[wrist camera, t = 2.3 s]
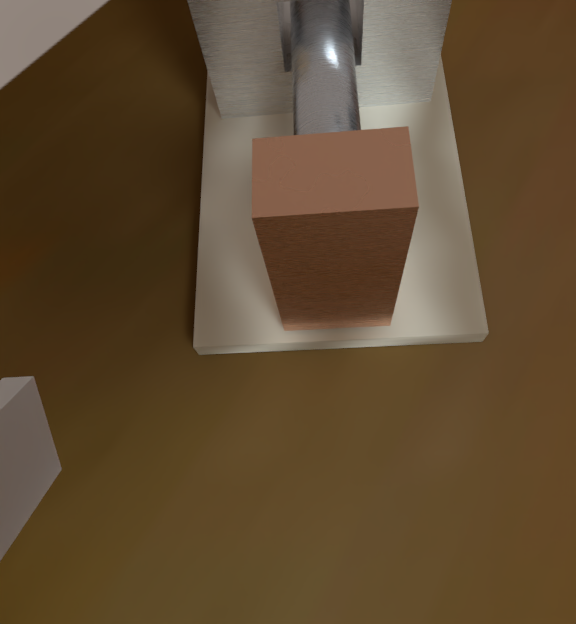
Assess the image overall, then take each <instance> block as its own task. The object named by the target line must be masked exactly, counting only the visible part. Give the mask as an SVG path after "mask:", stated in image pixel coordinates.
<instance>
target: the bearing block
mask: <svg viewBox="0 0 576 624" xmlns="http://www.w3.org/2000/svg"><path fill="white" fill-rule="evenodd" d="M290 1H296V0H187V2H188V5H189V9H190V12H191V15H192V19H193V22H194V26H195V29H196V32H197V36H198V39H199V43H200V46H201V50H202V53H203V56H204V60H205V63H206V67H207V70H208V73H209V77H210V80H211V84H212V87H213V90H214V94H215V97H216V101H217V104H218V108H219V111H220V114H221V118H222V119H225V118H237V117H250V116H262V115H274V114H286V113H293V96H292V60H291V24H290ZM451 1H452V0H350V11H351V22H352V33H353V44H354V56H355V67H356V78H357V90H358V101H359V107H371V106H383V105H395V104H407V103H419V102H431V97H432V92H433V88H434V83H435V78H436V73H437V68H438V64H439V59H440V54H441V49H442V44H443V40H444V35H445V30H446V25H447V21H448V16H449V11H450V6H451Z"/></svg>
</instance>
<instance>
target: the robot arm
mask: <svg viewBox="0 0 576 624" xmlns="http://www.w3.org/2000/svg"><path fill="white" fill-rule="evenodd" d="M61 470H62V468H61V465H60V462H59V458H58V455H57V452H56V448H55V445H54V442H53V439H52V435H51V432H50V429H49V425H48V422H47V419H46V415H45V412H44V409H43V405H42V402H41V399H40V396H39V392H38V389H37V386H36V382H35V379H34V376H28V377H9V378H2V379H1V380H0V561H1V559H2V558H3V556H4V555H5V553H6V552H7V550H8V549H9V547H10V546H11V544H12V543H13V541H14V540H15V538H16V537H17V535H18V534H19V532H20V531H21V529H22V528H23V526H24V525H25V523H26V522H27V520H28V519H29V517H30V516H31V514H32V513H33V511H34V510H35V508H36V507H37V505H38V504H39V503H40V501H41V500H42V498H43V497H44V495H45V494H46V492H47V491H48V489H49V488H50V486H51V485H52V483H53V482H54V480H55V479H56V477H57V476H58V474H59V473H60V471H61Z"/></svg>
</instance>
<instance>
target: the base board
mask: <svg viewBox="0 0 576 624" xmlns="http://www.w3.org/2000/svg"><path fill="white" fill-rule="evenodd" d="M359 112H360V123H361V130H367V129H380V128H393V127H405V126H408V127H409V134H410V142H411V150H412V157H413V165H414V172H415V180H416V188H417V195H418V203H419V209H418V213H417V217H416V221H415V225H414V230H413V234H412V238H411V242H410V246H409V250H408V254H407V259H406V263H405V267H404V271H403V275H402V279H401V283H400V288H399V292H398V296H397V300H396V304H395V308H394V313H393V317H392V321H391V325H390V326H374V327H353V328H333V329H313V330H293V331H284V328H283V324H282V321H281V317H280V314H279V310H278V307H277V304H276V300H275V297H274V293H273V290H272V286H271V283H270V279H269V276H268V273H267V269H266V266H265V262H264V259H263V255H262V252H261V249H260V245H259V242H258V238H257V235H256V231H255V228H254V224H253V221H252V139H253V138H266V137H279V136H291V135H294V132H293V113H286V114H274V115H262V116H250V117H237V118H225V119H222V118H221V114H220V111H219V108H218V104H217V101H216V97H215V94H214V90H213V87H212V84H211V80H210V77H209V73H208V72H207V91H206V110H205V129H204V148H203V168H202V187H201V206H200V225H199V244H198V263H197V282H196V301H195V320H194V339H193V348H194V349H195V350H196V351H197V353H198V354H199V355H204V354H225V353H247V352H268V351H290V350H311V349H333V348H354V347H376V346H397V345H419V344H440V343H462V342H482V341H483V340H484V339H485V337H486V336H487V335H488V333H489V332H488V326H487V321H486V315H485V309H484V303H483V297H482V292H481V286H480V280H479V274H478V268H477V262H476V257H475V251H474V245H473V239H472V233H471V228H470V222H469V216H468V210H467V204H466V198H465V193H464V187H463V181H462V175H461V169H460V164H459V158H458V152H457V146H456V140H455V134H454V129H453V123H452V117H451V111H450V105H449V100H448V94H447V88H446V82H445V76H444V71H443V65H442V59H441V54H440V59H439V64H438V68H437V73H436V78H435V83H434V88H433V92H432V97H431V102H419V103H407V104H395V105H383V106H371V107H359Z"/></svg>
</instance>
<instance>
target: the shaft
mask: <svg viewBox="0 0 576 624" xmlns="http://www.w3.org/2000/svg"><path fill="white" fill-rule="evenodd" d="M290 24H291V60H292V96H293V132H294V135H291V136H279V137H266V138H253V139H252V221H253V224H254V228H255V231H256V235H257V238H258V242H259V245H260V249H261V252H262V255H263V259H264V262H265V266H266V269H267V273H268V276H269V279H270V283H271V286H272V290H273V293H274V297H275V300H276V304H277V307H278V310H279V314H280V317H281V321H282V324H283V328H284V331H293V330H313V329H333V328H353V327H374V326H390V325H391V321H392V317H393V313H394V308H395V304H396V300H397V296H398V292H399V288H400V283H401V279H402V275H403V271H404V267H405V263H406V259H407V254H408V250H409V246H410V242H411V238H412V234H413V230H414V225H415V221H416V217H417V213H418V209H419V203H418V195H417V188H416V180H415V172H414V165H413V157H412V150H411V142H410V134H409V127H408V126H405V127H393V128H380V129H367V130H361V123H360V112H359V101H358V90H357V78H356V67H355V56H354V44H353V33H352V22H351V11H350V0H296V1H290Z"/></svg>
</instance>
